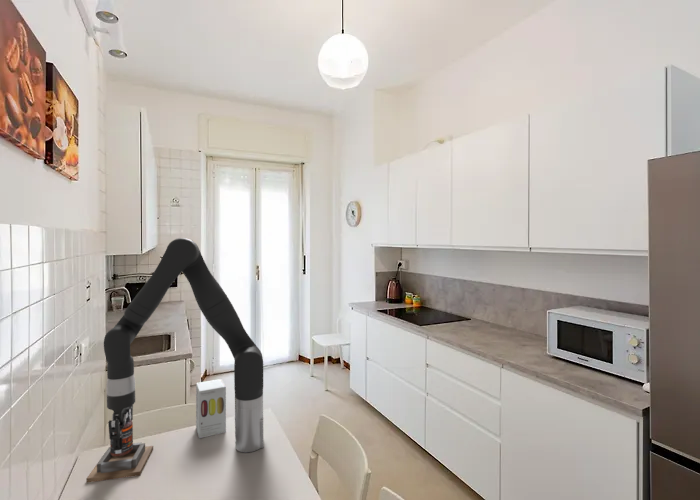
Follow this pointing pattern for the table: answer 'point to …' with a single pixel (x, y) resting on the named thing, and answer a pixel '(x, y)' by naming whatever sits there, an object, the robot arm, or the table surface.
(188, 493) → the table surface
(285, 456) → the table surface
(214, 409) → the supplement box
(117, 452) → the supplement bottle
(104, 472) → the collar holder
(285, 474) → the table surface
